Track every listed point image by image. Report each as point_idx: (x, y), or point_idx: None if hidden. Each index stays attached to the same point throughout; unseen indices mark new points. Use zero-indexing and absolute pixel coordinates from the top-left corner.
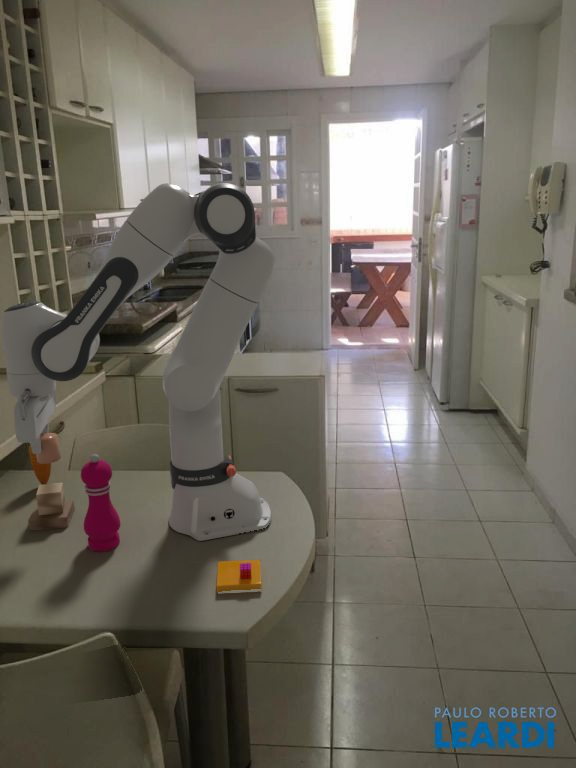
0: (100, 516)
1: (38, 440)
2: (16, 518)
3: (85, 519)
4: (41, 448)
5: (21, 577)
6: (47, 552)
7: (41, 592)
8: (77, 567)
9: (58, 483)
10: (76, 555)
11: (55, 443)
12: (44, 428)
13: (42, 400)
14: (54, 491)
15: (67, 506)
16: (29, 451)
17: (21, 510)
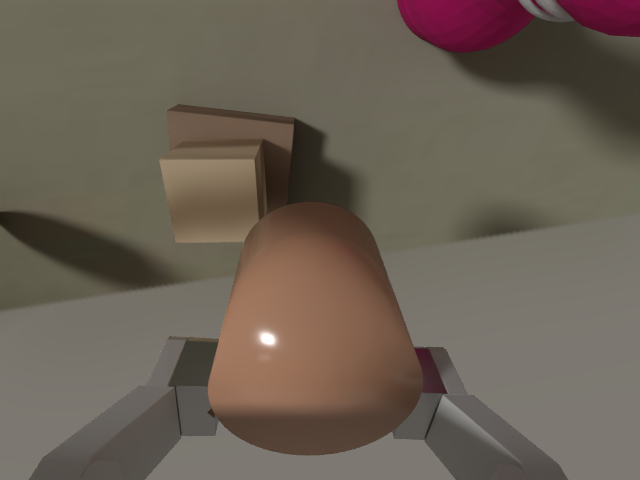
0: None
1: (534, 452)
2: (210, 258)
3: (500, 40)
4: (437, 364)
5: (510, 206)
6: (422, 161)
7: (601, 155)
8: (540, 72)
9: (168, 175)
10: (474, 79)
11: (373, 288)
12: (139, 443)
13: None
14: (243, 183)
15: (216, 128)
16: None
17: (164, 253)
